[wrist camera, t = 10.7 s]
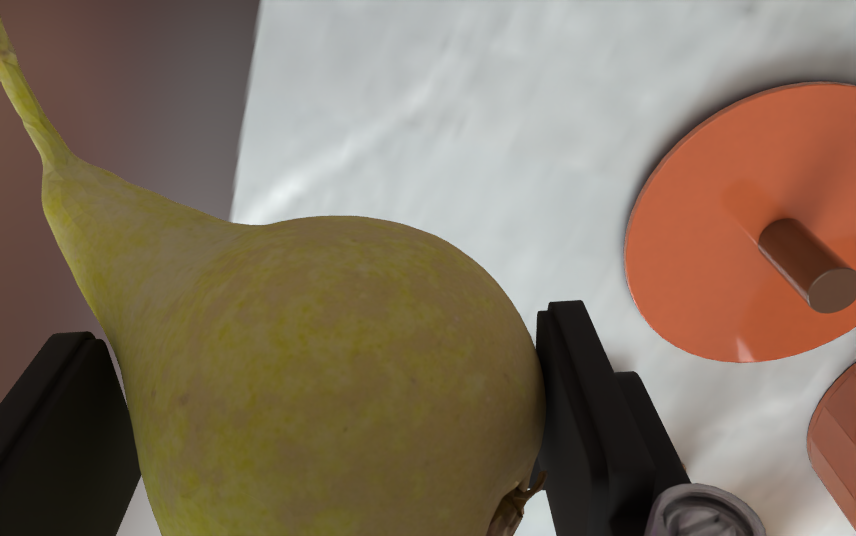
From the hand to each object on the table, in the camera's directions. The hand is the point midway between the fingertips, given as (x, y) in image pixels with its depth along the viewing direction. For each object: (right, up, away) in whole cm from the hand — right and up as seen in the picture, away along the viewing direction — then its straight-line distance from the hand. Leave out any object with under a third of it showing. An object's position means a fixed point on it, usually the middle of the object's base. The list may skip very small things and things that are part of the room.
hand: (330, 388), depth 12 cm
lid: (+19, +4, +23) cm, 31 cm away
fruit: (+3, -2, -2) cm, 4 cm away
